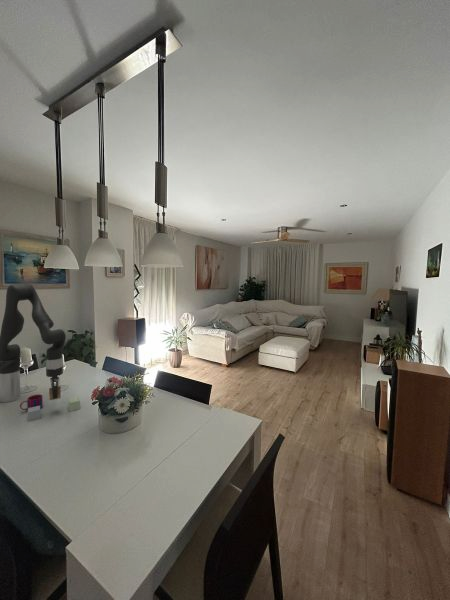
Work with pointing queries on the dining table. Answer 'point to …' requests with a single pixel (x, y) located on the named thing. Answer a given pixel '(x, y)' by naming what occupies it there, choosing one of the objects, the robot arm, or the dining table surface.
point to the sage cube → (74, 404)
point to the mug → (33, 401)
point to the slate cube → (33, 413)
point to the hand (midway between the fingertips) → (54, 396)
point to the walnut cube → (52, 394)
